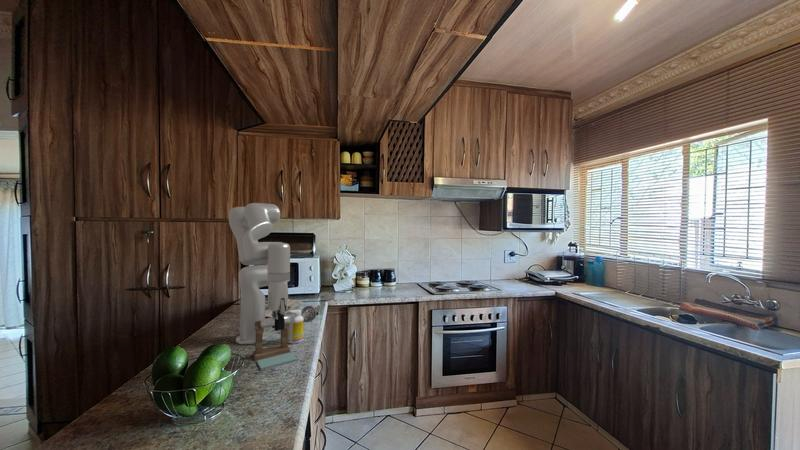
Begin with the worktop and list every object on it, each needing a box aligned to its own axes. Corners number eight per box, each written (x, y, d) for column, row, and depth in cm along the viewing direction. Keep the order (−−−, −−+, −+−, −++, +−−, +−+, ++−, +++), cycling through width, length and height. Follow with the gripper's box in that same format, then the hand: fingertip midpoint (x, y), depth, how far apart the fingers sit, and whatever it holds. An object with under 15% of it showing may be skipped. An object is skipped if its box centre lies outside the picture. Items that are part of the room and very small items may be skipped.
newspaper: (275, 321, 147) (275, 314, 147) (252, 320, 148) (252, 314, 148) (303, 304, 183) (303, 298, 183) (284, 303, 183) (284, 298, 184)
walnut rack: (252, 354, 107) (253, 321, 107) (285, 347, 115) (286, 316, 115) (255, 360, 102) (256, 325, 103) (290, 352, 110) (290, 319, 110)
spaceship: (283, 315, 130) (300, 309, 130) (311, 303, 165) (323, 298, 165) (289, 332, 129) (305, 326, 129) (315, 317, 164) (328, 312, 164)
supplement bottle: (306, 339, 123) (306, 309, 123) (297, 345, 117) (297, 313, 117) (293, 337, 125) (293, 308, 125) (283, 343, 119) (283, 312, 119)
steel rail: (262, 329, 98) (262, 321, 98) (260, 326, 100) (260, 317, 100) (294, 323, 105) (295, 315, 104) (292, 320, 107) (292, 312, 107)
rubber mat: (256, 362, 101) (256, 360, 101) (291, 353, 109) (291, 352, 109) (261, 370, 96) (261, 368, 96) (297, 360, 103) (297, 358, 103)
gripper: (262, 275, 107) (261, 324, 106) (273, 281, 94) (272, 337, 93) (283, 273, 111) (282, 321, 111) (296, 279, 99) (295, 332, 98)
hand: (278, 328), depth 102 cm, fingers closed on steel rail, 3 cm apart
